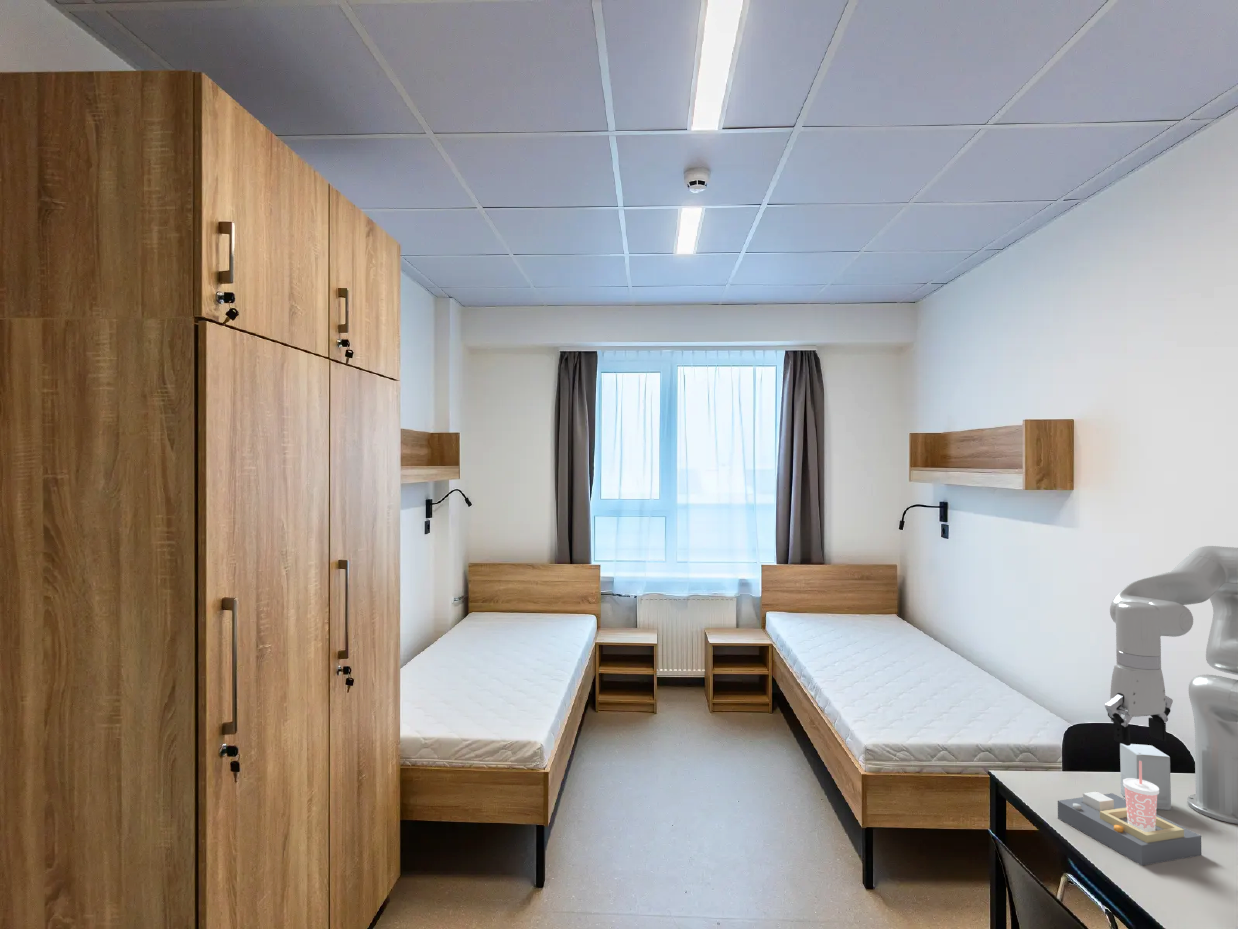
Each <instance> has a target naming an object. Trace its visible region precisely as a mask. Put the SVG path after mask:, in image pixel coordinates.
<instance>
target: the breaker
mask: <svg viewBox="0 0 1238 929" xmlns="http://www.w3.org/2000/svg"><path fill="white" fill-rule="evenodd" d="M1082 797H1083V803H1084V804H1086V805H1088V806H1090V807H1092V808H1093V809H1095V810H1097V811H1099V812H1100V811H1105V810H1112V809H1114V800H1113V799H1111V798H1109V797H1107V796H1105V795H1103V793H1101V792H1099V791H1091V792H1083V793H1082Z"/></svg>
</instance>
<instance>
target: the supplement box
mask: <svg viewBox="0 0 1238 929" xmlns="http://www.w3.org/2000/svg"><path fill="white" fill-rule="evenodd" d="M1119 759H1120V760H1119V761H1120V765H1119V766H1120V794H1121V795H1122V796H1124V797H1125V787H1124V786H1123V779H1126V778H1135V779H1139V761H1142V780H1145V781H1148V782H1150V783H1153V784H1154V785H1156V786H1157V787H1158V788H1159V794H1158V795H1157V809H1156V810H1164V811H1165V810H1166V811H1171V810H1172V795H1171V794H1172V793H1171V792H1172V790H1171V757H1170V756H1169V755H1168V754H1166V753H1164V752H1163V751H1162V750H1160V749H1158V748H1156V747H1155V746H1153V745H1152V744H1151V745H1150V744H1149V745H1148V744H1138V743H1137V744H1136V743H1131V744H1130V745H1129V746H1127V745H1124V744H1122V743H1119Z"/></svg>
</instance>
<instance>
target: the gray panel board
mask: <svg viewBox="0 0 1238 929" xmlns="http://www.w3.org/2000/svg"><path fill="white" fill-rule="evenodd" d="M1102 794H1103V793H1102ZM1103 795H1105V796H1107V797H1109V798H1111V799H1113V800H1114V809H1112V810H1105V811H1100V812H1099V811H1097V810H1095V809H1093V808H1092V807H1090V806H1088V805H1086V804H1084V803H1083V796H1081V797H1076V798H1075V797H1074V798H1068V799H1061V800H1060V799H1059V800H1057V819H1058V820H1060V821H1062V822H1064V823H1065V824H1068V825H1069V826H1071V827H1073V828H1075V829H1077V830H1078V831H1080V832H1081V833H1083V834H1086V835H1087V836H1088V837H1090V838H1092V839H1094V840H1096V841H1098V842H1100V843H1101V844H1103V845H1105V846H1107V847H1108V848H1110V849H1112V850H1114V851H1115V852H1116V853H1119V854H1120V855H1122V856H1124V857H1126V858H1128V859H1130V861H1132V862H1133V861H1134V862H1135V863H1137V864H1138V865H1140V866H1146V865H1152V864H1158V863H1165V862H1171V861H1177V860H1181V859H1187V858H1192V857H1199V856H1202V854H1203V853H1202V852H1203V851H1202V835H1201V834H1199V833H1196V832H1195V831H1192V830H1190V829H1188V828H1185V827H1184V826H1182V825H1179V824H1177V823H1175V822H1173V821H1171V820H1169V819H1167V818H1165V817H1162V816H1161V815H1158V814H1157V813H1156V825H1155V830H1156V831H1150V832H1144V831H1142V830H1140V829H1138V828H1136V827H1134V826H1132V825H1130V824H1128V820H1127V808H1126V798H1123V797H1121V796H1119V795H1117V794H1115V793H1112V792H1111V793H1106V794H1105V793H1104V794H1103Z"/></svg>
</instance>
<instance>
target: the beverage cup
mask: <svg viewBox="0 0 1238 929" xmlns="http://www.w3.org/2000/svg"><path fill="white" fill-rule="evenodd" d="M1123 786H1124V787H1125V796H1124V797H1125V800H1126V808H1127V820H1128V824H1130V825H1132V826H1134V827H1136V828H1138V829H1140V830H1142V831H1144V832H1150V831H1155V825H1156V814H1157V810H1158V809H1157V795H1158V794H1159V788H1158V787H1157V786H1156V785H1154V784H1153V783H1150V782H1148V781H1145V780H1142V761H1139V779H1135V778H1126V779H1123Z"/></svg>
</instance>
